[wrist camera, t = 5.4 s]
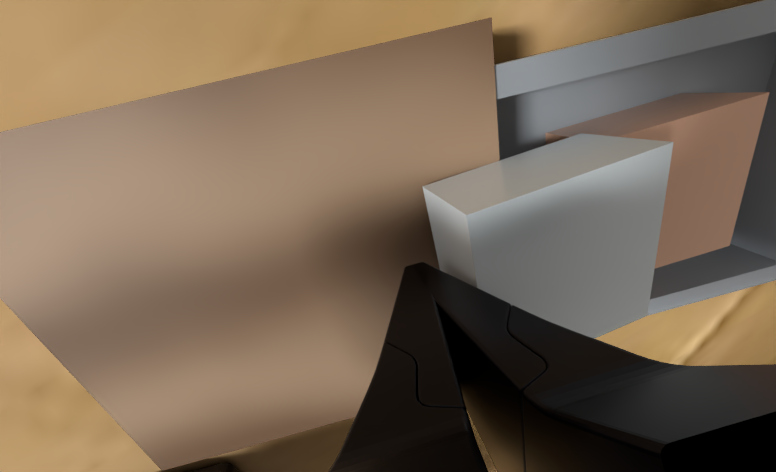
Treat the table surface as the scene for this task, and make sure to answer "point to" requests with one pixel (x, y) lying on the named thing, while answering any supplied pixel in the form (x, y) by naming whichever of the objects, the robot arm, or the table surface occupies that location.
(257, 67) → the table surface
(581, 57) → the tray
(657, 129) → the tile terracotta
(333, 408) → the walnut board
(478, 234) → the white block
